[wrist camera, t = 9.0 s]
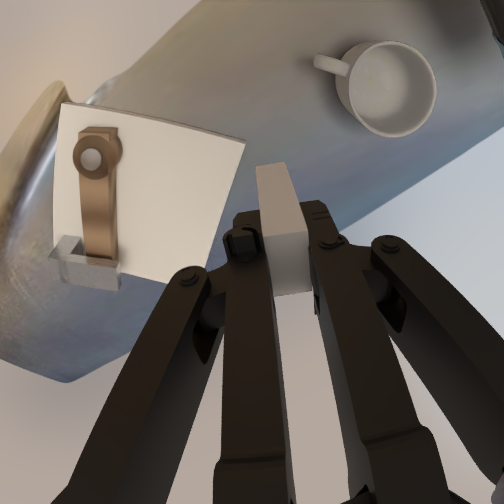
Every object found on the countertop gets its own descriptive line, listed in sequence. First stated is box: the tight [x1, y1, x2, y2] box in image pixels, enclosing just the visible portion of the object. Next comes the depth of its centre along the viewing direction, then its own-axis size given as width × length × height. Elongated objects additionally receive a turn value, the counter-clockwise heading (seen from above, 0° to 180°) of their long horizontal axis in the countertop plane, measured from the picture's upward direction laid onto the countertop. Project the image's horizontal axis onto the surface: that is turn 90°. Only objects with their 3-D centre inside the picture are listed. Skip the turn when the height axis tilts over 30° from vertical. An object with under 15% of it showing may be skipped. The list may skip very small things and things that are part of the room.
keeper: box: [48, 235, 121, 292], centre depth 41 cm, size 4×10×7 cm, turn 79°
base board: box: [53, 102, 246, 284], centre depth 40 cm, size 24×24×2 cm
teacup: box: [313, 41, 437, 138], centre depth 29 cm, size 14×11×8 cm
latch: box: [73, 127, 123, 261], centre depth 37 cm, size 21×6×4 cm, turn 170°
